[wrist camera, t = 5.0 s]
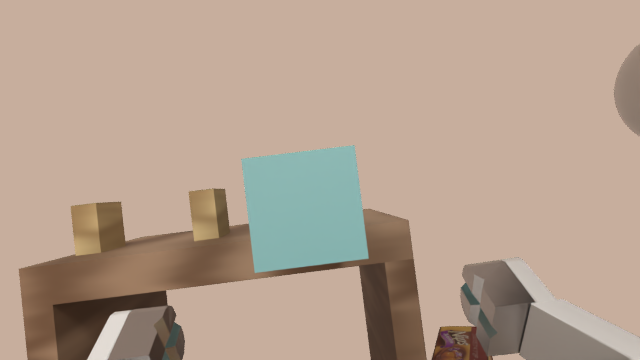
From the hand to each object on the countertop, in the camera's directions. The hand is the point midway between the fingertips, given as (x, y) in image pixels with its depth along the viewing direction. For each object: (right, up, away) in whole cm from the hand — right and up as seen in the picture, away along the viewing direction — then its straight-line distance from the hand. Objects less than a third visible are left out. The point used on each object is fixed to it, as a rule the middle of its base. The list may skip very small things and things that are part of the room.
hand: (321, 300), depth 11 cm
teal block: (0, +1, +11) cm, 11 cm away
